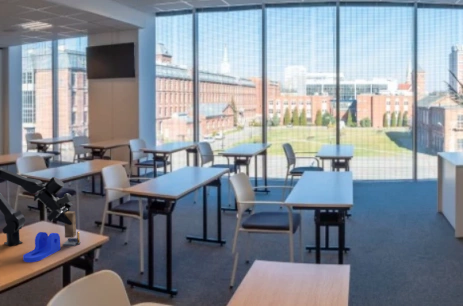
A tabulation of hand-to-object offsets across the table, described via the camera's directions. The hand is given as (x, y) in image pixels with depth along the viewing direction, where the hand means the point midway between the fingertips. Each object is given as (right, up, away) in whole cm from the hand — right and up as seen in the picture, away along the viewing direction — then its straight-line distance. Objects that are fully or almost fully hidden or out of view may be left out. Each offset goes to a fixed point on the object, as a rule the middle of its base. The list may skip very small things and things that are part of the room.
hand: (72, 223), depth 220 cm
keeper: (-1, -10, +1) cm, 10 cm away
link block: (-1, -7, +1) cm, 7 cm away
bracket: (-9, -13, -15) cm, 22 cm away
